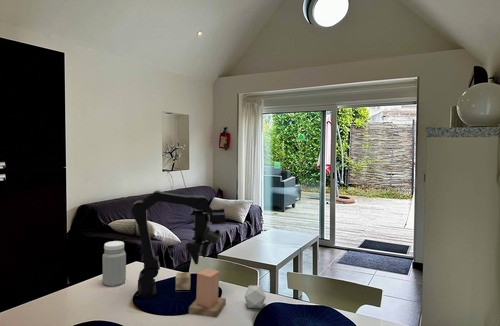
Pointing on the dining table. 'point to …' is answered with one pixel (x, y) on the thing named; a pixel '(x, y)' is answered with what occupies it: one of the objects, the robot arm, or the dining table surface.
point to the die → (255, 296)
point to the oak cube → (183, 281)
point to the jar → (114, 263)
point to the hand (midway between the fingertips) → (200, 260)
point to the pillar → (207, 287)
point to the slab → (206, 311)
